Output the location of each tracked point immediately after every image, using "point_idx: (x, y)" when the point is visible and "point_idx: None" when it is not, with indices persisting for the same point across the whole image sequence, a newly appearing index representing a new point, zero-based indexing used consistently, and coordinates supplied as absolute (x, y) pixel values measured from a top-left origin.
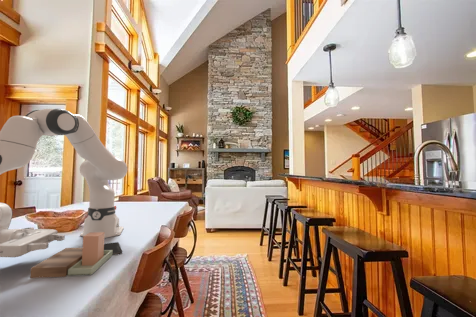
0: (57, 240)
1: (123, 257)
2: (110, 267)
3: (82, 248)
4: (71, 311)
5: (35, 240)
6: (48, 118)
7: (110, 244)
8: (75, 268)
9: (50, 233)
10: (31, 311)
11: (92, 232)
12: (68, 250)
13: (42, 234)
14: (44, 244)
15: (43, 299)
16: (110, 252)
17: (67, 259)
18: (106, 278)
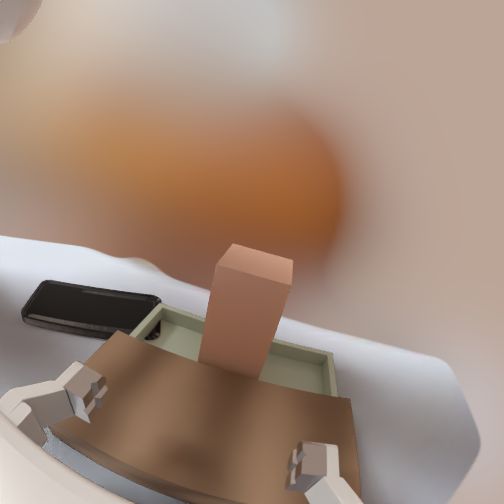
0: (92, 419)
1: (198, 306)
2: (274, 335)
3: (103, 361)
4: (448, 366)
5: None
6: None
7: (46, 296)
8: (330, 386)
9: (9, 421)
10: (468, 410)
11: (220, 260)
12: (100, 410)
13: (33, 488)
14: (335, 451)
15: (441, 415)
16: (180, 311)
17: (265, 412)
18: (343, 342)
